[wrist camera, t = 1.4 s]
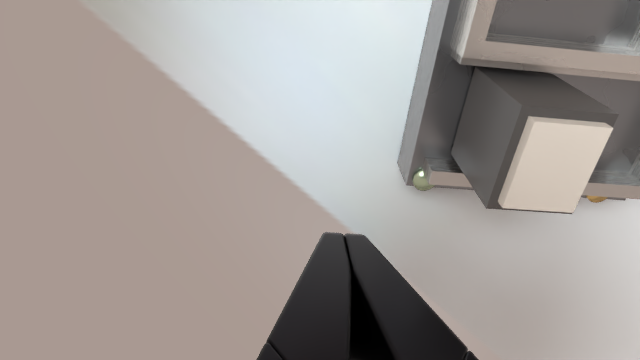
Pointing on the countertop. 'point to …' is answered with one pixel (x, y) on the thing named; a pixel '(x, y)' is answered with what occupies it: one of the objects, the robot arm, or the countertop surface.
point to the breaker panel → (533, 56)
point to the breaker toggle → (529, 140)
